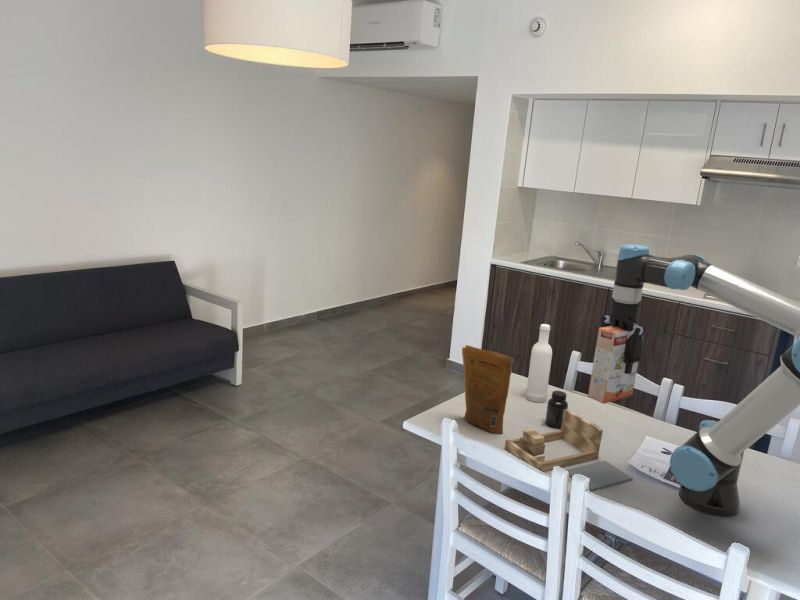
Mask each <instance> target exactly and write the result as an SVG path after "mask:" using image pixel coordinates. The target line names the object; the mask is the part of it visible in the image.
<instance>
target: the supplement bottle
mask: <svg viewBox="0 0 800 600" xmlns="http://www.w3.org/2000/svg"><path fill="white" fill-rule="evenodd" d="M568 408H569V404H568V401H567V393H566V392H565V391H562V390H553V391H552V393H551V397H550V398H549V399H548V401H547V406H546V414H545V424H546V426H547V427H549V428H552V429H556V430H561V426H562V419H563V412H564V409H567V410H569V409H568Z"/></svg>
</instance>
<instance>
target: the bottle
mask: <svg viewBox="0 0 800 600" xmlns="http://www.w3.org/2000/svg"><path fill="white" fill-rule="evenodd" d="M550 331H551V325H550V324H548V323H542V324H540V326H539V332H538V333H539V336H538V341H537V342H536V343H535V344H533V346H532V348H531V354H530V360H529V370H528V377H527V386H526V390H525V391H526V392H525V399H526V400H527V401H530V402H532V403H536V404H537V403H538V404H539V403H544V402H546V400H547V397H548V387H549V380H550V373H551V364H552V357H553V348H552V346H551V345H550V344H549V337H550Z"/></svg>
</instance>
